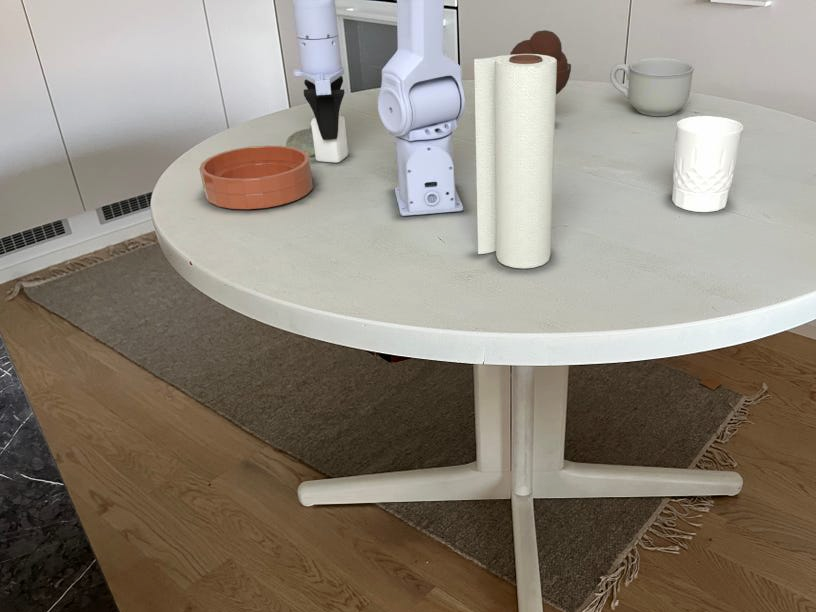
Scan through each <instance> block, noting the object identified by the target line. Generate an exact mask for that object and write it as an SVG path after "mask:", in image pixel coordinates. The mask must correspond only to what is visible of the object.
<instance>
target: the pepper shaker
mask: <svg viewBox="0 0 816 612" xmlns="http://www.w3.org/2000/svg"><path fill="white" fill-rule="evenodd" d="M310 127H312V134H313V142H314V149H315V155H314V156H315V157H314V158H315V160H316V161H317V162H321V163H323V162H324V163H335V164H336V163H340V162H341V161H343V160H344V159H345V158H347V157H348V155H349V147H348V138H347V130H346V120H345V117H344V116H343V115H341V114H339V122H338V136H337V139H329V140H323V139H322V137H321V134H320V131H319V128H318V124H317V121H316V118H315V116H314V117H313V118H312V119H311V120H310Z"/></svg>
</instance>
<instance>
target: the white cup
mask: <svg viewBox="0 0 816 612" xmlns="http://www.w3.org/2000/svg"><path fill="white" fill-rule="evenodd" d="M675 128H676V129H675V139H674V140H675V142H674V154H673V172H672V173H673V174H672V177H673V185H672V186H673V187H672V197H671V201H672V202H673V204H674V206H676V207H678V208H680V209H682V210H685V211H690V212H695V213H710V212H711V213H712V212H718V211H721V210H722V209H725V207H726V205H727V204H728V198H729V194H730V188H731V187H732V183H733V179H734V175H735V169H736V166H737V162H738V157H739V152H740V147H741V142H742V137H743V132H744V125H743V124H742V123H741V122H740V121H738V120H735V119H732V118H727V117H721V116H712V115H697V116H689V117H688V116H687V117H683V118H681V119H679V120H678V121H677V122H676V127H675Z"/></svg>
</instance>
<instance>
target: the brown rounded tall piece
mask: <svg viewBox="0 0 816 612" xmlns="http://www.w3.org/2000/svg"><path fill="white" fill-rule="evenodd" d="M516 54H539V55H547V56H550V57H554V58H555V59H556V60H557V74H556V96H557V95H558V94H559V93H560V92H561V91H562V90H563V89H564V88H565V87H566V86H567V84H568V81H569V79H570V75H571V72H572V64H571V63H569V62H568V59H567V56H566V54H565V53H564V52H563V47H562V42H561V39H560V37H559V36H558V35H557V34H556V33H555V32H554V31H551V30H547V29H546V30H545V29H544V30H538V31H535V32H533V34H532V35H531V37H530V38H529V39H524V40H522V41H520V42H518V43H517V44H516V45H515V46H514V47H513V48H512V50H511V51H510V53H509V55H516Z"/></svg>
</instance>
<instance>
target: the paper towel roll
mask: <svg viewBox="0 0 816 612" xmlns="http://www.w3.org/2000/svg"><path fill="white" fill-rule="evenodd" d="M473 68H474V70H473V71H474V115H475V117H474V119H475V122H474V123H475V161H476V162H475V165H476V168H475V169H476V170H475V171H476V172H475V173H476V214H477V215H476V217H477V219H476V220H477V255H483V254H490V253H494V252H495V256H496V259H497V261H498V262H499V263H500V264H502V265H503V266H506V267H510V268H512V269H533V268H537V267H540V266H543V265H545V264H546V263H548V262H549V260H550V257H551V255H552V254H551V251H552V226H553V225H552V224H553V223H552V222H553V221H552V220H553V190H554V160H555V133H556V130H555V129H556V104H557V103H556V102H557V101H556V100H557V99H556V97H557V95H556V74H557V60H556V59H555V58H554V57H550V56H547V55H539V54H516V55H510V54H505V55H504V54H503V55H497V56H492V57H484V58H474V59H473Z"/></svg>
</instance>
